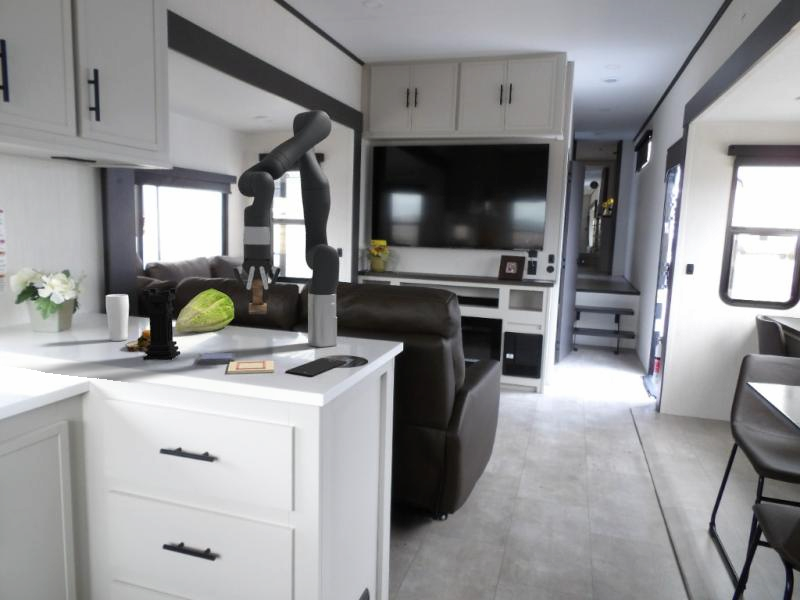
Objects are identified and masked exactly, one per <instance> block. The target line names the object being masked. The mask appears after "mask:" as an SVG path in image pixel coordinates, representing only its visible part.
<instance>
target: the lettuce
mask: <svg viewBox="0 0 800 600" xmlns="http://www.w3.org/2000/svg"><path fill="white" fill-rule="evenodd" d="M234 306H235V305H234V301H232V299H231V298H230V296H228V294H226V293H223V292H221V291H218V290H217V289H214V288H210V289H207V290H204V291H202V292H199V294H197V295H196V296H195V297H193V298H192V299H190V301H189V302H188V303H187V304H186V305H185V306H184V307H183V308H182V309H181V311H180V312H179V315H178V317H177V319H176V322H175V329H176V330H177V331H178V332H180V333H188V332H199V333H200V332H201V333H203V332H213V331H218V330H221V329H223V328H225V327H226V326H228V325H229V324H230V323H231V322H232V321H233V319H234V318H235V307H234Z"/></svg>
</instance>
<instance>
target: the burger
mask: <svg viewBox="0 0 800 600" xmlns="http://www.w3.org/2000/svg"><path fill="white" fill-rule="evenodd" d="M149 344H150V329H146V330H143V331H142V332H141V335H140V336H139V337H138V338H137V339H136V340H134V341H130V342H127V343H126V344H124V346H125V347H127V352H135V350H136V351H137V352H139V353H143V352H144V353H145V351H146V350H148V349H149V348H147V345H149Z"/></svg>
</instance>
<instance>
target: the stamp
mask: <svg viewBox="0 0 800 600" xmlns="http://www.w3.org/2000/svg"><path fill="white" fill-rule="evenodd" d="M251 289H252V302H249V303H248V313H249V315H259V314H260V315H266V314H267V312H268V308H267V307H268V305H267V302H264V297H263V290H264V285H263V281H262V278H258V277H257V278H253V280H252V284H251Z"/></svg>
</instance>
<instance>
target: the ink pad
mask: <svg viewBox="0 0 800 600" xmlns="http://www.w3.org/2000/svg"><path fill="white" fill-rule="evenodd" d="M236 355H237V354H236V352H229V353H228V352H227V353H226V352H224V353H221V352H220V353H200V354H199V356H198V358H197V359H196V365H197V366H198V365H201V366H202V365H205V366H206V365H229V364H230V362H236V357H237V356H236Z"/></svg>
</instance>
